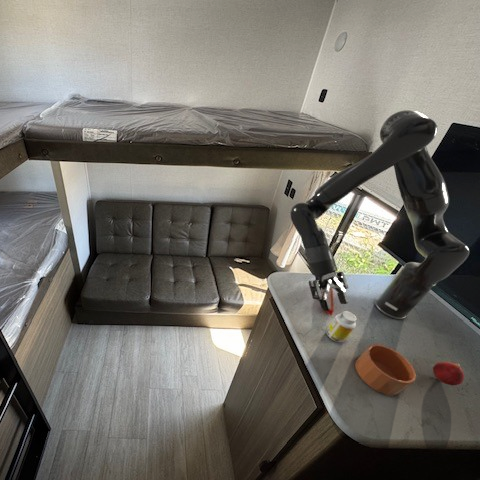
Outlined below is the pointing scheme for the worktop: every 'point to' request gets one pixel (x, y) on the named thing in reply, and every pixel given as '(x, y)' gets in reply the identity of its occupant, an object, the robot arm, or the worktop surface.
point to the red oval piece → (448, 373)
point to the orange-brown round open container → (385, 369)
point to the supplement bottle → (341, 326)
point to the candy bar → (330, 301)
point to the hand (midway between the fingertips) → (335, 307)
